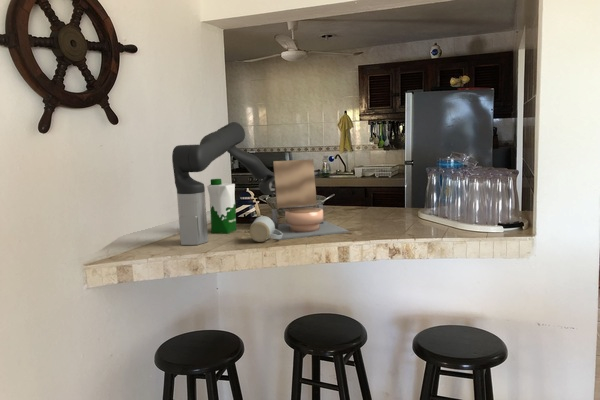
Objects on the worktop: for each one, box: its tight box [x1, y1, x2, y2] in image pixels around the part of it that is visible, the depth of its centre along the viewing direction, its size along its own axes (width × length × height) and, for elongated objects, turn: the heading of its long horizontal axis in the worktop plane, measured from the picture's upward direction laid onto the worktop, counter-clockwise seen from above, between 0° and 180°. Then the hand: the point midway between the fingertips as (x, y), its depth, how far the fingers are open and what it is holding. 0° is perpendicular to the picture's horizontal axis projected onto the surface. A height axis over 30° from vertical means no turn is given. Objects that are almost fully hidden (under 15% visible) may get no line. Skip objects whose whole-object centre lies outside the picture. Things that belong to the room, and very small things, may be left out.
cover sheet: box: [272, 158, 318, 211], centre depth 176 cm, size 18×16×1 cm
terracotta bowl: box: [284, 207, 324, 232], centre depth 169 cm, size 14×14×7 cm
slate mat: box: [273, 219, 350, 241], centre depth 172 cm, size 26×26×1 cm
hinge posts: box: [271, 204, 324, 229], centre depth 176 cm, size 2×20×8 cm, turn 109°
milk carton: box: [206, 178, 237, 234], centre depth 173 cm, size 9×9×20 cm
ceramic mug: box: [248, 215, 283, 243], centre depth 155 cm, size 11×8×8 cm
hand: (292, 190), depth 180 cm, fingers closed
